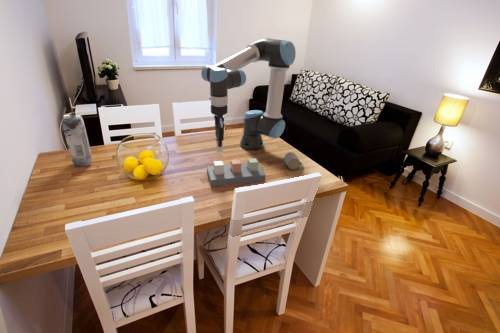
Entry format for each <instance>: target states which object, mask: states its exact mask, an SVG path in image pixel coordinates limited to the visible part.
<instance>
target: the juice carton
mask: <svg viewBox="0 0 500 333" xmlns="http://www.w3.org/2000/svg"><path fill="white" fill-rule="evenodd" d="M62 117H63V119H62V122H61V123H62V130H63V133H64V136H65V141H66V145H67V148H68V152H69V155H70V158H71V162H72V164H73V166H74V168H81V167H80V166H83V167H88V166H87V165H90V166H91V165H92V151H91V147H90V142H89V137H88V134H87V130H86V126H85V122H84V119H83V116H82V114H68V113H67V114H64V115H62Z"/></svg>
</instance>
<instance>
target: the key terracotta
mask: <svg viewBox="0 0 500 333" xmlns="http://www.w3.org/2000/svg"><path fill="white" fill-rule="evenodd" d="M241 164H242V162H241V160H240V159H231V160H230V165H231V172H232V174H233V173H241Z"/></svg>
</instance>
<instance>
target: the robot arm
mask: <svg viewBox="0 0 500 333" xmlns="http://www.w3.org/2000/svg"><path fill="white" fill-rule="evenodd" d="M296 53H297V51H296V47H295V45H294V43H293V42H292V41H289V40H287V39H286V40H285V39H275V38H262V39H259V40H256V41H254V42H252V43H250V44H248V45H247V46H246V47H245V49H243V50H241V51H239V52H237V53H235V54H233V55H232V56H229V57H227V58H225V59H223V60H221V61H219V62H218V63H216V64H214V65H211V64H209V65H207V64H206V65H203V67H202V69H201V74H200V75H201V78H202V79H203V80H204V82H208V83H209V90H210V94H209V95H210V97H209V100H210V113H211V114H212V115H214V116H213V117H214V129H215V136H216V137H215V142H216V143H215V144H216V153H223V152H224V150H223V143H224V142H223V141H224V138H225V137H224V135H225V117H224V116H225V115H226V114H227V113H228V103H229V101H228V99H229V98H228V95H229V94H228V92H229V91H228V90H231V89H234V88H240V87H242V86H245V84H246V81H247V75H246V73H245V71H244V70H243V69H242V68H245V67H246V66H248V65H250V64H252V63H257V62H259V61H260V62H262V61H264V62H268V68H269V69H270V72H269V82H268V91H267V99H266V100H267V101H266V106H265V107H266V108H265V111H263V110H258V109H254V110H253V109H252V110H247V111H245V112H244V114H243V115H244V117H243V130H242V131H243V133H242V136H241V139H240V141H239V145H240V146H239V147H241V148H242V149H244V150H248V151H257V150H261V149H262V148H263V147H264V141H263V137H262V135H263V136H266V137H269V138H271V139H277V138H279V137H281V135H282V134H283V133H284V131H285V128H286V122H285V120H284V119H283V115H282V113H281V111H282V105H283V104H282V103H283V98H284V97H283V96H284V91H285V83H286V82H285V81H286V76H287V75H286V74H287V71H288V70H289V69H290V66H292V65H293V64H294V62H295V60H296V57H297V56H296Z"/></svg>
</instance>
